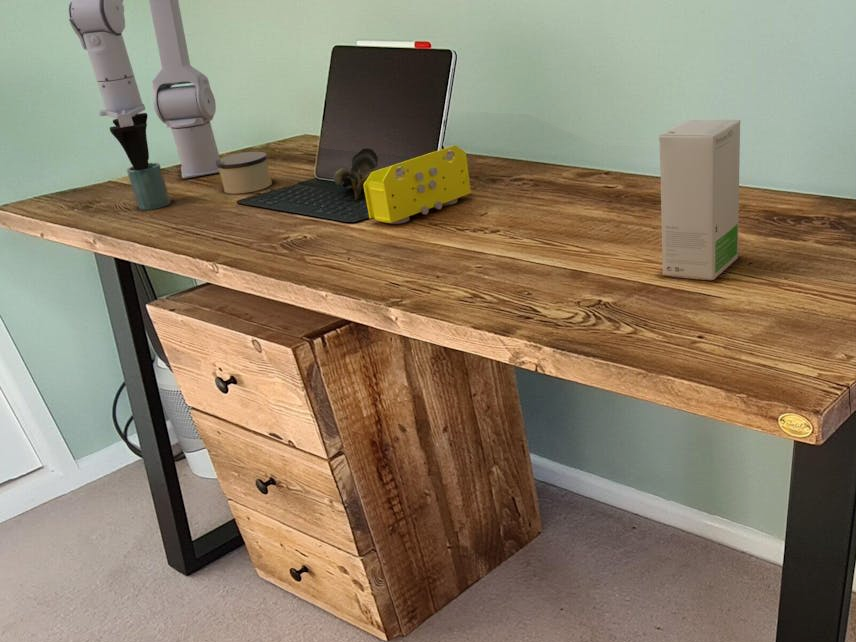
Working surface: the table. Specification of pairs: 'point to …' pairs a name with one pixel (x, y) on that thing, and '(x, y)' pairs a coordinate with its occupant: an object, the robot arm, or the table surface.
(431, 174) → the yellow toy chassis
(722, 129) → the cosmetic box
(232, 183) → the jar
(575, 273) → the table surface
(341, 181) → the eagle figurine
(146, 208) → the cup
